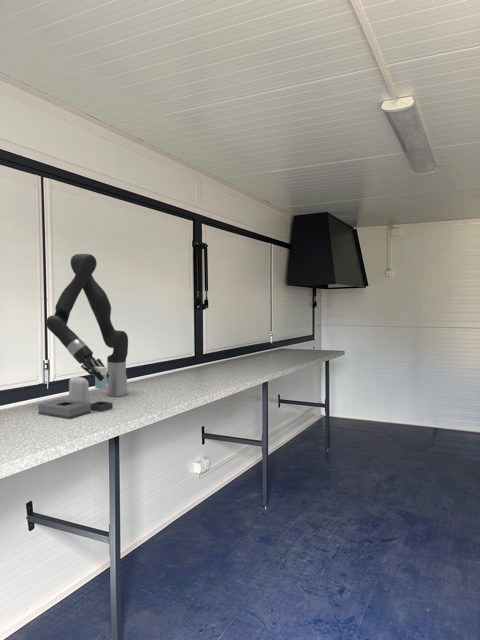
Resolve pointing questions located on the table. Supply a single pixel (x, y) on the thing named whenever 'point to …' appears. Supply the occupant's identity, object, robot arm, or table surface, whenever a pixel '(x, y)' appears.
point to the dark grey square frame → (101, 406)
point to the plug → (104, 382)
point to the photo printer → (78, 389)
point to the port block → (64, 408)
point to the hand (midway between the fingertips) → (104, 378)
